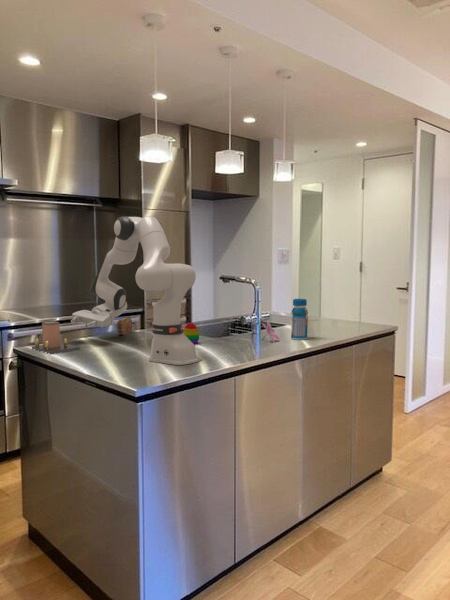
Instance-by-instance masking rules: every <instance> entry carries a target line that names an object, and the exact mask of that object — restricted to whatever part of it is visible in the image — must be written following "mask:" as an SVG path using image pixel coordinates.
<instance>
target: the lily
mask: <svg viewBox="0 0 450 600" xmlns="http://www.w3.org/2000/svg"><path fill="white" fill-rule="evenodd" d="M261 325H262V326H263V327H264V329H265V330H266V331H265V335H264V336H263V338H262V340H261V341H262V342H263V340H264V339H265V337H266V336H269V337H270V338H271V340H272V342H273V343H275V340H278V341H279V342H280V341H281V340H280V338H279V336H278V334H276V330H275V329H274V328H273V327H272V325H271V323H270V321H269V320H268V319H267V320H266V324H265V323H262V324H261Z"/></svg>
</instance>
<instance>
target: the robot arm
mask: <svg viewBox="0 0 450 600" xmlns="http://www.w3.org/2000/svg"><path fill="white" fill-rule="evenodd" d="M113 232H114V235H115V239H114V242H113V247H112V249H109V250H108V251H107V252H106V253H105V255H104V256H103V258H102V261H101V264H100V266H99V268H98V271H97V273H96V276H95V278H94V279H93V281H92V282H91V292H92V294H93V295H94V296H95V297H98V298H100V299H102V300H103V301H105V302H103V303H101V304H99V305H96V306H93V308H92V309H91V310H88V309H82V310H78V311H75V312H73V313H72V314H71V318H72V319H71V320H70V324H72V325H75V324H77V322H78V323H81V324H85V328H89V329H90V328H91V327H99V328H106V327H108V326H111V325H114V324H115V318H117V317H119V316H120V315H122V314H123V313H124V312H125V311H127V309H128V302H127V291H126V289H124V287H122V286H120V285H118V284H116V283H115V282H113V281H111V280H110V279H109V275H110V273H111V270H112V268H113V266H114V265H120V266H121V265H123V266H124V265H127V264H130V263H132V262H133V261H134V260H135V258H136V256H137V253H138V248H139V243H140V245H141V248H142V249H141V250H142V252H143V256H144V257H143V258H144V259H143V260H144V261H143V263H142V265H140V266H139V267H138V268H137V271H136V273H135V282H136V285H137V287H139V288H140V289H141V290H144V291H148V292H149V291H150V292H160V291H161V292H163V291H165V292H164V294H163V296H162V297H161V298H160V299H159V300H158V301H156V302H155V303H154V305H153V307H152V309H153V313H152V316H153V324H152V328H151V329H152V335H153V336H152V339H151V347H150V357H148V361H149V362H154V363H160V364H168V365H173V366H174V365H175V366H182V365H183V366H185V365H189V364H194V363H197V362H198V363H199V362H201V361H202V359H203V357H202V356H199V355H197V352H196V351H197V350H196V346H195V345H196V344H193V343H192V342H191V341H190V340H189V339H188V338H187V337H186V336H185V335H184V333H183V332H184V331H183V330H184V328H185V326H183V325H182V323H181V313H182V312H181V310H182V309H181V308H182V302H183V300H184V297H185V295H186V294H187V292H188V291H189V290H190V289H191V288H192V287H193V285H194V284H195V282H196V278H197V275H196V271H195V269H194V267H192V266H191V265H189V264H185V263H166V262H164V261H166V260H167V259H168V258H169V256H170V254H171V246H170V244H169V241H168V238H167V236H166V233H165V231H164V228H163V226H162V223H161V222H160V221H159V220H158V219H157V218H156V217H154V216H149V215H148V216H144V217H140V216H126V215H124V216H119V217H117V218H116V220H115V221H114V225H113Z"/></svg>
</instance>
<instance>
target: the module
mask: <svg viewBox="0 0 450 600" xmlns="http://www.w3.org/2000/svg"><path fill="white" fill-rule="evenodd" d="M60 325H61V324H60V322H59V321H54V320H53V321H45V322H41V327H42V328H41V329H42V330H41V332H42V345H43V347H45V341H49V348H53V347H59V346H60V342H61V327H60Z"/></svg>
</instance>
